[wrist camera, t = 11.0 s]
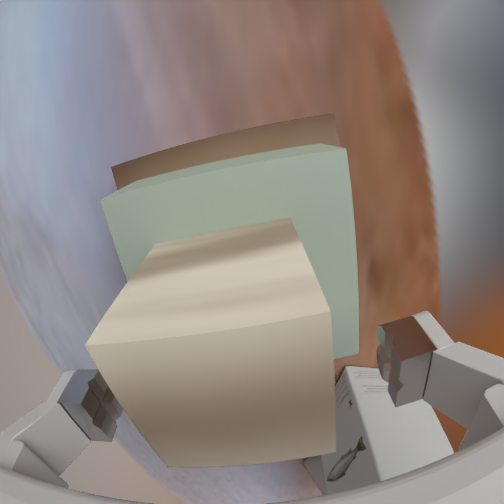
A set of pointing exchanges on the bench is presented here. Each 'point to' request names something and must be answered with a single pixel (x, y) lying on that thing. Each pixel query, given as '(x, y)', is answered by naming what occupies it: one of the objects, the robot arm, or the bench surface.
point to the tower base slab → (231, 147)
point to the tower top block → (253, 216)
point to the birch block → (224, 350)
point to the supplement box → (378, 433)
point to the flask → (316, 472)
